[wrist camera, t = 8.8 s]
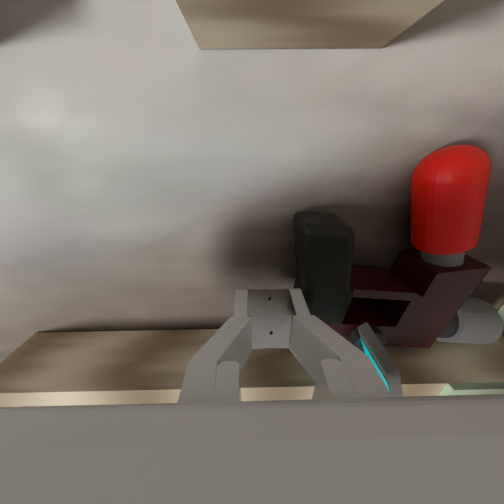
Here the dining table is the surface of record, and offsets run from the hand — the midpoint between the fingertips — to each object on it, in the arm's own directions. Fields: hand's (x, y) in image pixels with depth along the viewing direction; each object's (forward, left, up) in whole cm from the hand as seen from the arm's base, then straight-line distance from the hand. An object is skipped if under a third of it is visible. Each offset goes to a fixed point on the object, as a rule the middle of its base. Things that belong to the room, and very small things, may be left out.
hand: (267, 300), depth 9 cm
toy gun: (-7, -1, -2) cm, 7 cm away
